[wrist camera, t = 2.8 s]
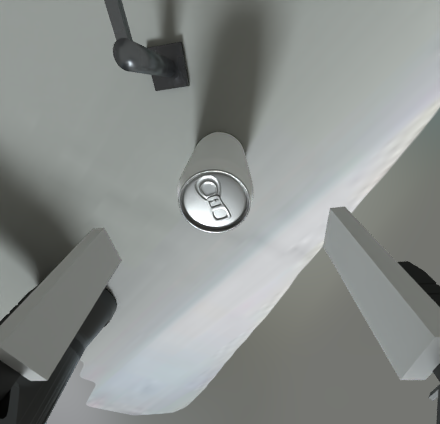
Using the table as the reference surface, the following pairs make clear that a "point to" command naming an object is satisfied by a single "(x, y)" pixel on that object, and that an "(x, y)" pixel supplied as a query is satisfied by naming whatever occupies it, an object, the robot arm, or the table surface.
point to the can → (216, 184)
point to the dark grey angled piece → (146, 53)
